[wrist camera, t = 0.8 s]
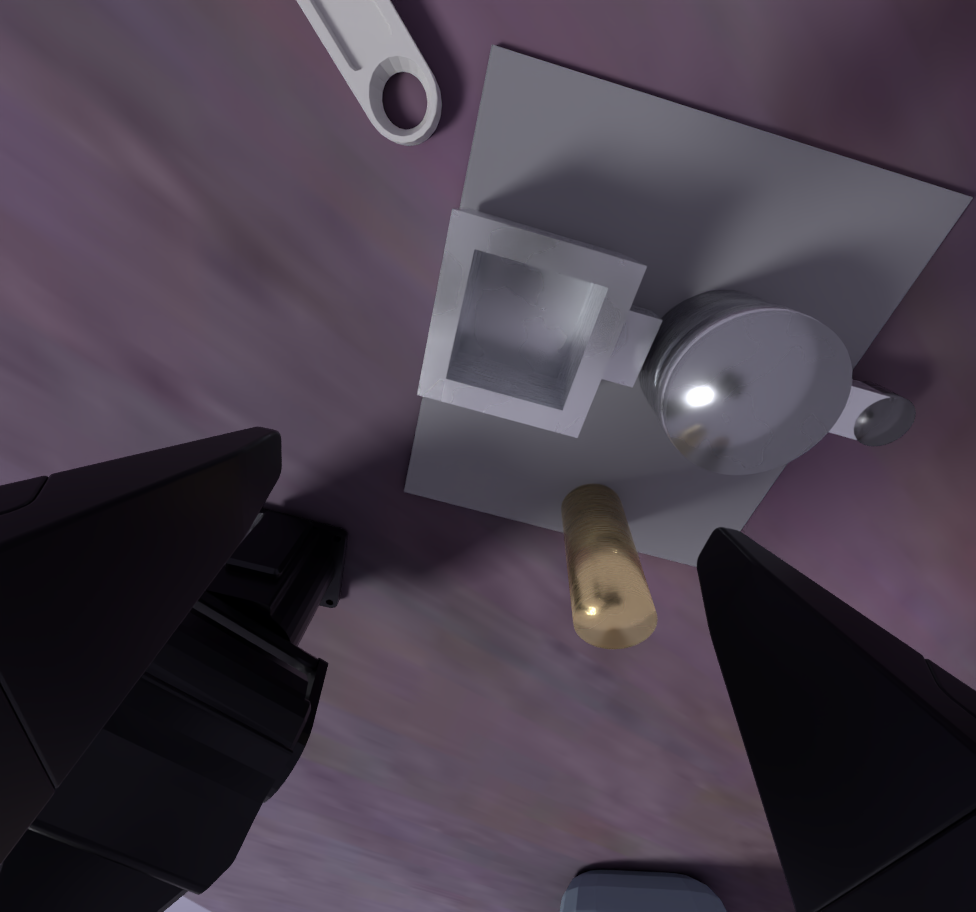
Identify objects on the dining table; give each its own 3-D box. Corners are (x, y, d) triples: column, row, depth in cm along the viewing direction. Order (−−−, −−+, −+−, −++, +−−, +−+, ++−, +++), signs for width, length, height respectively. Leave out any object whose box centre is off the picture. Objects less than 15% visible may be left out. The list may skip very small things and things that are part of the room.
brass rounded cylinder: (608, 538, 25) (636, 656, 18) (553, 523, 25) (562, 638, 18) (631, 492, 23) (671, 603, 17) (572, 477, 23) (590, 583, 17)
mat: (710, 567, 26) (712, 571, 25) (405, 488, 25) (403, 491, 24) (965, 197, 16) (973, 197, 16) (492, 46, 15) (492, 44, 15)
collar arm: (930, 344, 18) (1033, 380, 14) (834, 469, 21) (899, 525, 18) (468, 208, 17) (452, 208, 13) (437, 359, 20) (417, 394, 16)
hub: (734, 435, 22) (786, 493, 17) (614, 402, 21) (637, 453, 17) (810, 310, 19) (896, 341, 14) (672, 269, 18) (717, 288, 14)
